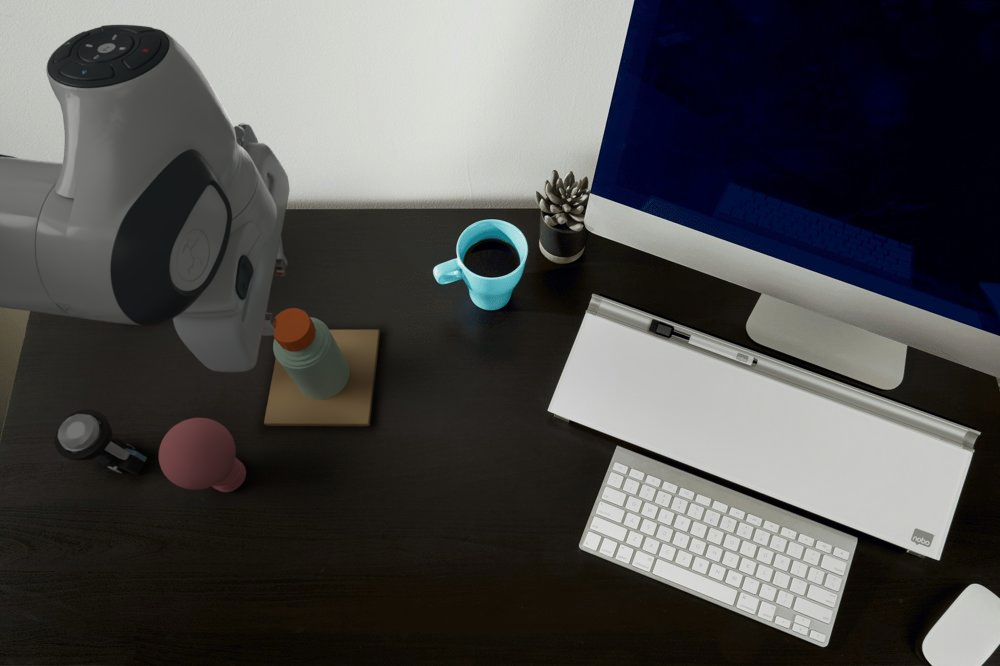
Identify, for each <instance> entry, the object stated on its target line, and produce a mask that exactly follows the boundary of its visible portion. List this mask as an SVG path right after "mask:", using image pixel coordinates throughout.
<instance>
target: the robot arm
mask: <svg viewBox="0 0 1000 666" xmlns="http://www.w3.org/2000/svg"><path fill="white" fill-rule="evenodd" d="M45 70H46V77H47V80H48V82H49V83H48V84H49V86H50V87H51V89H52V92H53V94H54V95H55V98H56V100H57V101H58V104H59V105H60V109H61V112H62V121H63V129H64V146H63V147H64V149H63V159H62V162H59V161H49V160H40V159H30V158H22V157H21V158H20V157H16V156H12V155H8V154H7V155H6V154H1V153H0V308H1V309H2V308H3V309H10V310H18V311H26V312H35V313H40V314H48V315H57V316H64V317H72V318H78V319H82V320H84V319H85V320H91V321H99V322H106V323H113V324H123V325H130V326H131V325H132V326H143V327H146V328H147V327H151V328H152V327H153V328H154V327H157V326H161V325H164V324H166V323H168V322H171V321H172V323H173V326H174V330H175V332H176V333H177V335H178V337H179V339H180V340H181V342H182V343H183V344H184V345H185V346H186V348H187V349H188V350H189V351H190V352H191V353H192V354H193V355H194V356H195V358H196V359H197V360H198V361H199V362H201V364H202V365H203V366H204V367H206V368H207V369H209V370H210V371H213V372H219V373H221V372H222V373H244V372H248V371H251V370H252V369H253V368H255V367H256V365H257V362H258V358H259V351H260V346H261V341H262V336H267V337H269V336H270V337H271V336H273V335H274V333H275V328H276V322H277V320H276V319H275V315H274V314H273V313H272V312H267V310H268V305H269V299H270V294H271V290H272V285H273V279H274V277H276V276H279V277H284V276H286V272H287V267H288V260H287V257H286V256H285V255H284V248H283V240H282V234H283V233H282V232H283V225H284V221H285V217H286V212H287V206H288V201H289V196H290V180H289V177H288V174H287V172H286V170H285V168H284V167H283V165H282V164H281V162H280V160H279V159H278V157H277V156H276V154H275V153H274V151H273V150H272V149H271V147H270V146H268V144H266V143H264V142H259V140H258V138H257V137H258V136H257V135H256V134H255V132H254V129H253V128H252V126H251V125H250V124H248V123H245V122H239V123H238V124H237V125H234V123H233V121H232V119H231V117H230V116H229V114H228V112H227V110H226V108H225V105H224V104H223V102H222V101H221V99H220V97H219V95H218V93H217V92H216V90H215V89H214V87H213V85H212V84H211V82H210V81H209V79H208V77H207V76H206V75H205V73H204V72H203V70H202V69H201V67H200V66H199V64H198V63H197V61H196V60H195V59H194V58H193V56H192V55H191V54H190V53H189V52H188V51H187V49H186V48H185V47H184V46H183V45H182V44H181V43H179V42H178V41H177V40H176V39H175V38H174V37H172V36H171V35H170V34H169V33H167V32H166V31H164V30H162V29H159V28H154V27H152V26H146V25H135V24H106V25H101V26H99V27H95V28H91V29H88V30H86V31H85V30H84V31H81V32H79V33H77V34H76V35H74V36H72V37H70V38H69V39H67V40H66V41H64V42H63V43H62V44H61V45H59V46H58V47H57V48H56V49H55V50H54V51H53V52H52V53H51V55H50V56H49V58H48V61H47V63H46V69H45Z"/></svg>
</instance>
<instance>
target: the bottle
mask: <svg viewBox="0 0 1000 666" xmlns="http://www.w3.org/2000/svg"><path fill="white" fill-rule="evenodd" d="M309 317H310V318H311V320H312V322H313V323H314V326H315V329H316V335H315V338H314V340H313V342H312V343H311V345H310V346H308V347H307V348H306V349H304V350H301V351H298V352H291V351H287V350H285V349H283V348H282V347H281V345H280V344H278V342H277V341H276V339H275V338H274V339H273V344H272V351H273V354H274V357H275V360H276V359H277V360H278V361H279V363H280V364H281V365H282V367H283V368H284V369H285V370H286V372H287V373H288V374H289V376H290V377H291V378H292V380H293V381H294V382H295V384H296V385H297V386H298V388H299V389H300V390H301V391H302V393H303V394H305V395H306V396H308V397H310V398H313V399H327V398H330V397H333V396H334V395H336V394H338V393H339V392H340V391H341V390H342V389H343V388H344V387H345V385H346V384H347V382H348V379H349V375H350V369H349V365H348V362H347V361H346V359H345V357H344V355H343V354H342V352H341V350H340V348H339V346H338V345H337V343H336V341H335V339H334V338H333V336H332V334H331V332H330V331H329V330H330V328H329V327H328V325H326V323H324V322H323V321H322V320H320V319H318V318H316V317H313V316H312V317H311V316H309Z"/></svg>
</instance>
